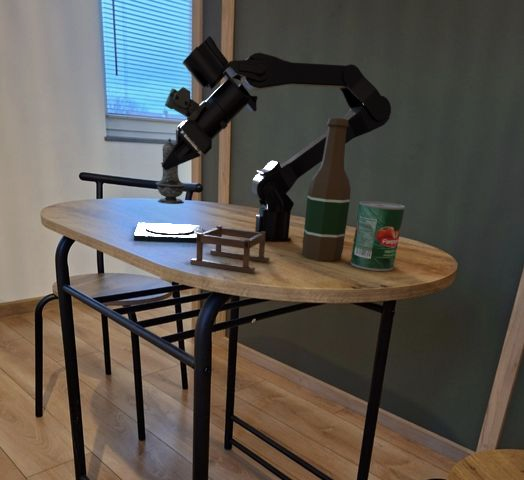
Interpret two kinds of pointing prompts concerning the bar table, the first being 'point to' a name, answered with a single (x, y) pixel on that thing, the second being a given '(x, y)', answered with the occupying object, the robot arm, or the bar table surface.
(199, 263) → the brown wooden stand
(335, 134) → the beer bottle
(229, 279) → the bar table surface
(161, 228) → the plate
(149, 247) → the bar table surface
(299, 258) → the bar table surface
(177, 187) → the salt shaker
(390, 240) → the canned tomato
